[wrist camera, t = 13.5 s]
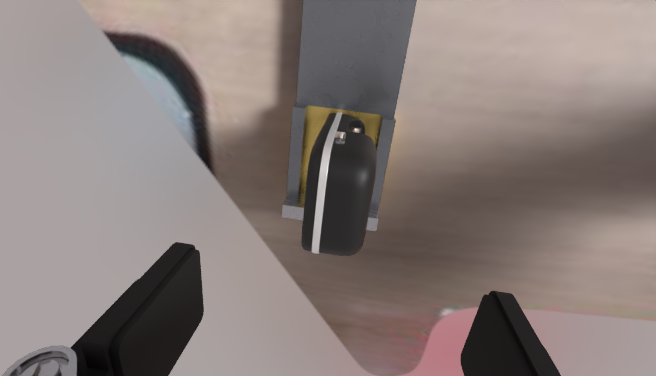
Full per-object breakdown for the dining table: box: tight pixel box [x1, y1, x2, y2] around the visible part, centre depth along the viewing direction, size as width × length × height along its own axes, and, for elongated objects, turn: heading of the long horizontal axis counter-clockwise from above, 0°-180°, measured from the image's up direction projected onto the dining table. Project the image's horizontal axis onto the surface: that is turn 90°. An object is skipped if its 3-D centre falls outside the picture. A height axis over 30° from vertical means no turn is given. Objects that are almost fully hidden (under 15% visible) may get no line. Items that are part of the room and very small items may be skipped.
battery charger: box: [302, 112, 377, 256], centre depth 23 cm, size 7×4×11 cm, turn 174°
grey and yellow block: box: [282, 0, 417, 231], centre depth 26 cm, size 8×20×5 cm, turn 173°
